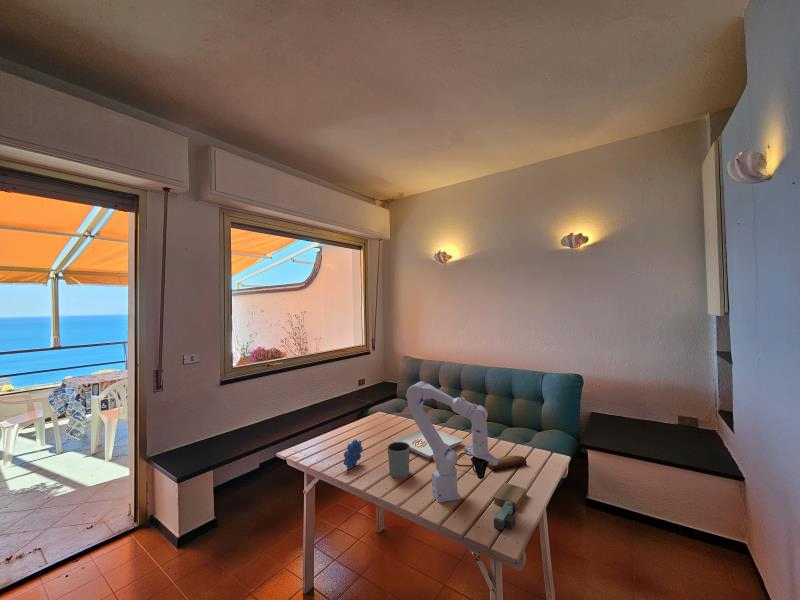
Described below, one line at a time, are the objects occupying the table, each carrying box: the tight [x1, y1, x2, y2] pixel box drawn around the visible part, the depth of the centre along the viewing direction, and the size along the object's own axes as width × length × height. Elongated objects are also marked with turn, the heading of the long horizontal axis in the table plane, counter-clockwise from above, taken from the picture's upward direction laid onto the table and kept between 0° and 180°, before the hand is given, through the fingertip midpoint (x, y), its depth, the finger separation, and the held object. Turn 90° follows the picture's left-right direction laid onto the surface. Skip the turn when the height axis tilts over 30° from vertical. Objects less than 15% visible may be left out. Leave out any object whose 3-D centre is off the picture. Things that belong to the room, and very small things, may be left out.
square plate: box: [393, 429, 465, 459], centre depth 170 cm, size 27×27×4 cm
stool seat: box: [493, 482, 527, 531], centre depth 114 cm, size 10×23×3 cm, turn 143°
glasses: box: [455, 452, 476, 473], centre depth 148 cm, size 13×13×5 cm
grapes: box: [343, 438, 363, 469], centre depth 149 cm, size 12×7×12 cm, turn 143°
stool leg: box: [493, 501, 514, 531], centre depth 107 cm, size 12×3×3 cm, turn 144°
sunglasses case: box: [487, 455, 527, 472], centre depth 146 cm, size 18×7×7 cm, turn 109°
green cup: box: [386, 441, 411, 479], centre depth 141 cm, size 10×10×12 cm
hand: (481, 477), depth 118 cm, fingers closed
